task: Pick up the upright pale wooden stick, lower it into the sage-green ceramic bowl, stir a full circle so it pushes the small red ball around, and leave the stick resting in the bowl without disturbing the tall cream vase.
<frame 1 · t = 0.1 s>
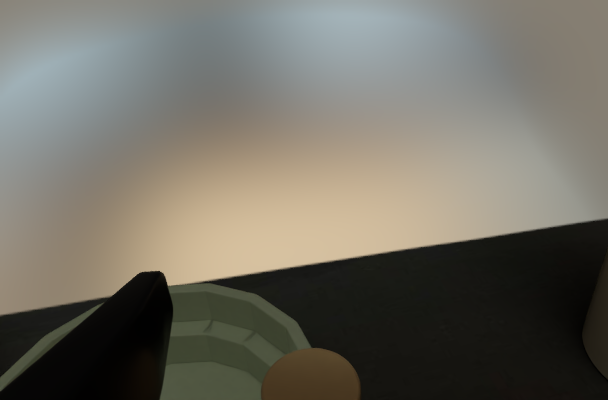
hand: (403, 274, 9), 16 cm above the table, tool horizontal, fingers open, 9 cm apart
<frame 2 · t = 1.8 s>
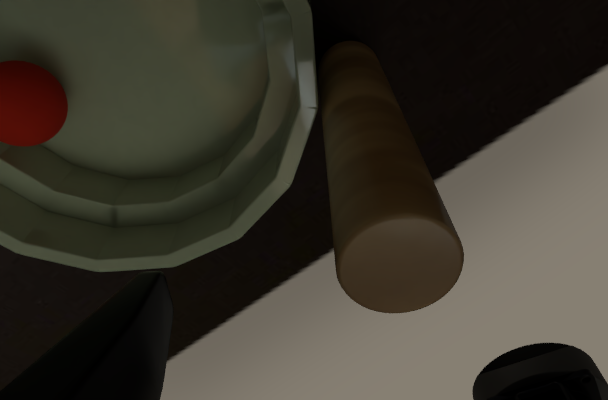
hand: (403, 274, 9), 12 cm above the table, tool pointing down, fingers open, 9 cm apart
stick: (348, 71, 20), on the table
ball: (21, 104, 18), point 2 cm above the table, touching bowl
bowl: (124, 39, 19), on the table
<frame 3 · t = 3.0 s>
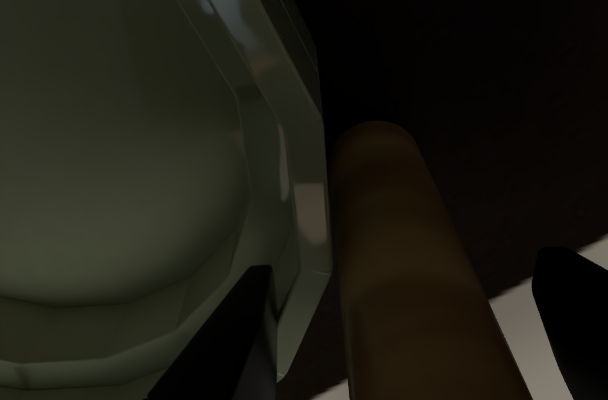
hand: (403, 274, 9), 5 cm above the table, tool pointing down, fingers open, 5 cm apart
stick: (373, 161, 13), on the table
bowl: (35, 118, 12), on the table
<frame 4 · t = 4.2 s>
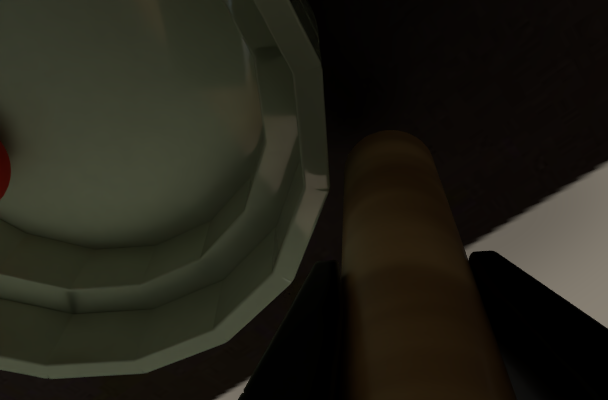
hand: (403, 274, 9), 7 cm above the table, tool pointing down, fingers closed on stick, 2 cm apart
stick: (388, 170, 14), point 3 cm above the table, tilted 6°, touching gripper
bowl: (83, 82, 15), on the table
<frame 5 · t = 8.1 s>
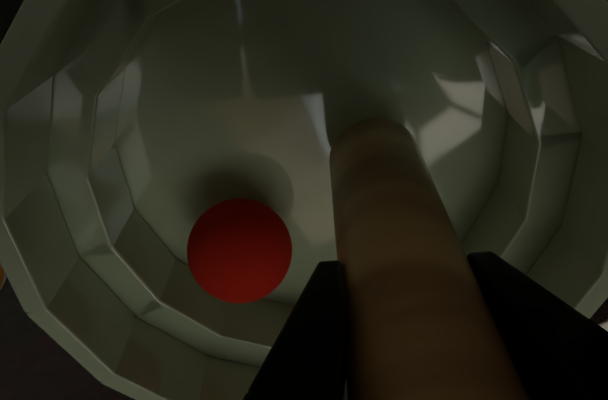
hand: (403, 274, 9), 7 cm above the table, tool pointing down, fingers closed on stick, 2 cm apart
stick: (373, 158, 14), point 2 cm above the table, touching gripper
ball: (240, 250, 14), point 2 cm above the table, tilted 41°, touching bowl
bowl: (310, 149, 15), on the table
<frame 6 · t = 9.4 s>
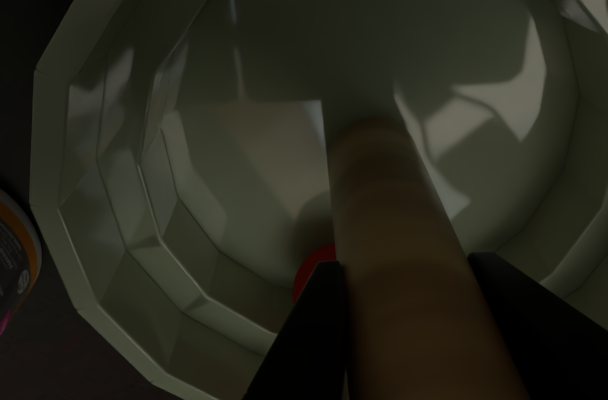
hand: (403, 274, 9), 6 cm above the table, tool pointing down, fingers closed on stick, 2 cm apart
stick: (371, 157, 14), point 1 cm above the table, touching gripper
ball: (344, 293, 15), point 2 cm above the table, tilted 85°, touching bowl
bowl: (364, 136, 15), on the table
when the fingers open (6 cm above the table, at t = 9.7 s): stick stays where it is, resting on bowl.
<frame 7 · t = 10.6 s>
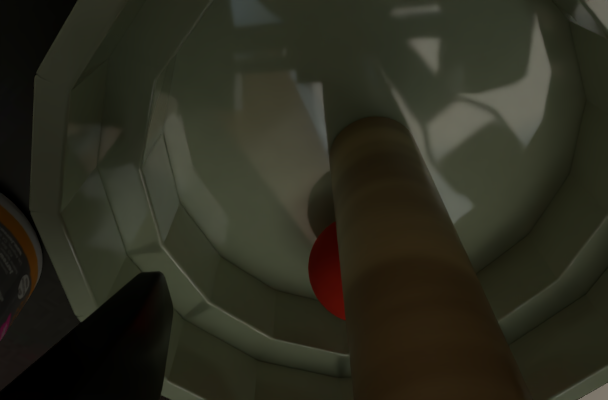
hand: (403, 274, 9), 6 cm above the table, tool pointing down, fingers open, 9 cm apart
stick: (372, 156, 14), point 1 cm above the table, touching bowl
ball: (362, 268, 14), point 2 cm above the table, tilted 103°, touching bowl
bowl: (367, 140, 14), on the table
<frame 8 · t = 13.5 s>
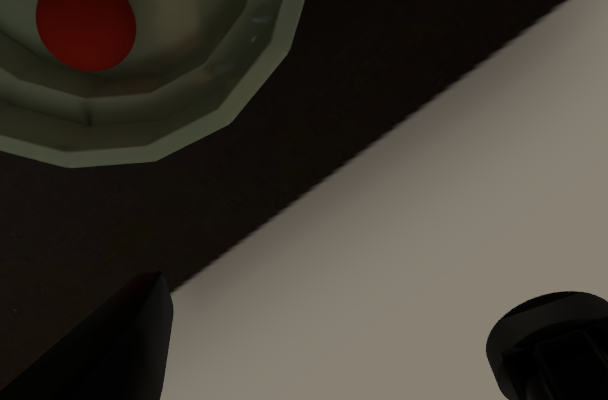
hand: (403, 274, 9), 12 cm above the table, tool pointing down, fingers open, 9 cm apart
ball: (87, 24, 16), point 2 cm above the table, tilted 99°, touching bowl
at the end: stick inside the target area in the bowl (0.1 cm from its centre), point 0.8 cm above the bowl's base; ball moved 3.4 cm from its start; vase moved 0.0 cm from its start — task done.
